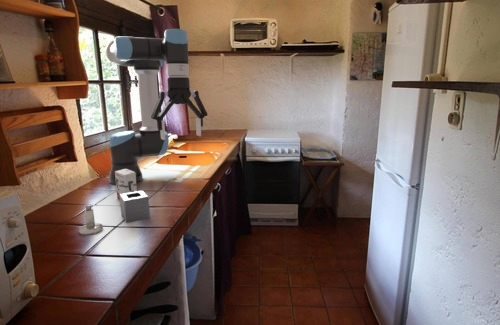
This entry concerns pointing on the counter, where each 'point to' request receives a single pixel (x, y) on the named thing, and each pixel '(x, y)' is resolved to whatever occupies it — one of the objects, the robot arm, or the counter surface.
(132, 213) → the block
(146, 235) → the counter surface
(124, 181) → the ink box
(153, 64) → the robot arm
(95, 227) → the hub
